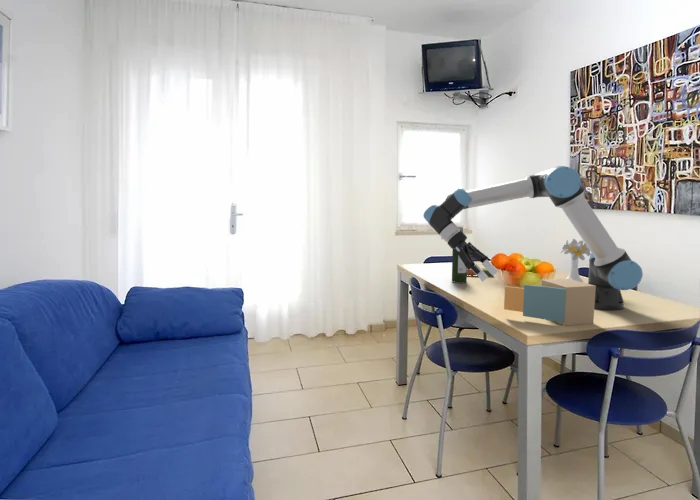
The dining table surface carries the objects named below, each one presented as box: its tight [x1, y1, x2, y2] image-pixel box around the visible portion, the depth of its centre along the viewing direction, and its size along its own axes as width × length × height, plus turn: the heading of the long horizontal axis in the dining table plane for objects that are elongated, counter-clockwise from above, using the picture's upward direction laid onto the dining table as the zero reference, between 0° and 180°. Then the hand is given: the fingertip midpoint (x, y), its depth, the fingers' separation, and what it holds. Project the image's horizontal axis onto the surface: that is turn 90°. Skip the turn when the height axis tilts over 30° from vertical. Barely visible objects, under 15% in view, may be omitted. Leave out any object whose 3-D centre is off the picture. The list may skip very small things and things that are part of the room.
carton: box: [467, 267, 492, 276], centre depth 251 cm, size 8×16×4 cm, turn 81°
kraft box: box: [540, 278, 596, 326], centre depth 160 cm, size 12×14×14 cm
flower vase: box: [560, 238, 591, 283], centre depth 208 cm, size 13×18×25 cm
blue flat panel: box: [503, 284, 566, 322], centre depth 157 cm, size 1×21×12 cm, turn 54°
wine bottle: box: [451, 226, 468, 283], centre depth 231 cm, size 8×8×30 cm
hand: (490, 276), depth 165 cm, fingers open, 13 cm apart
